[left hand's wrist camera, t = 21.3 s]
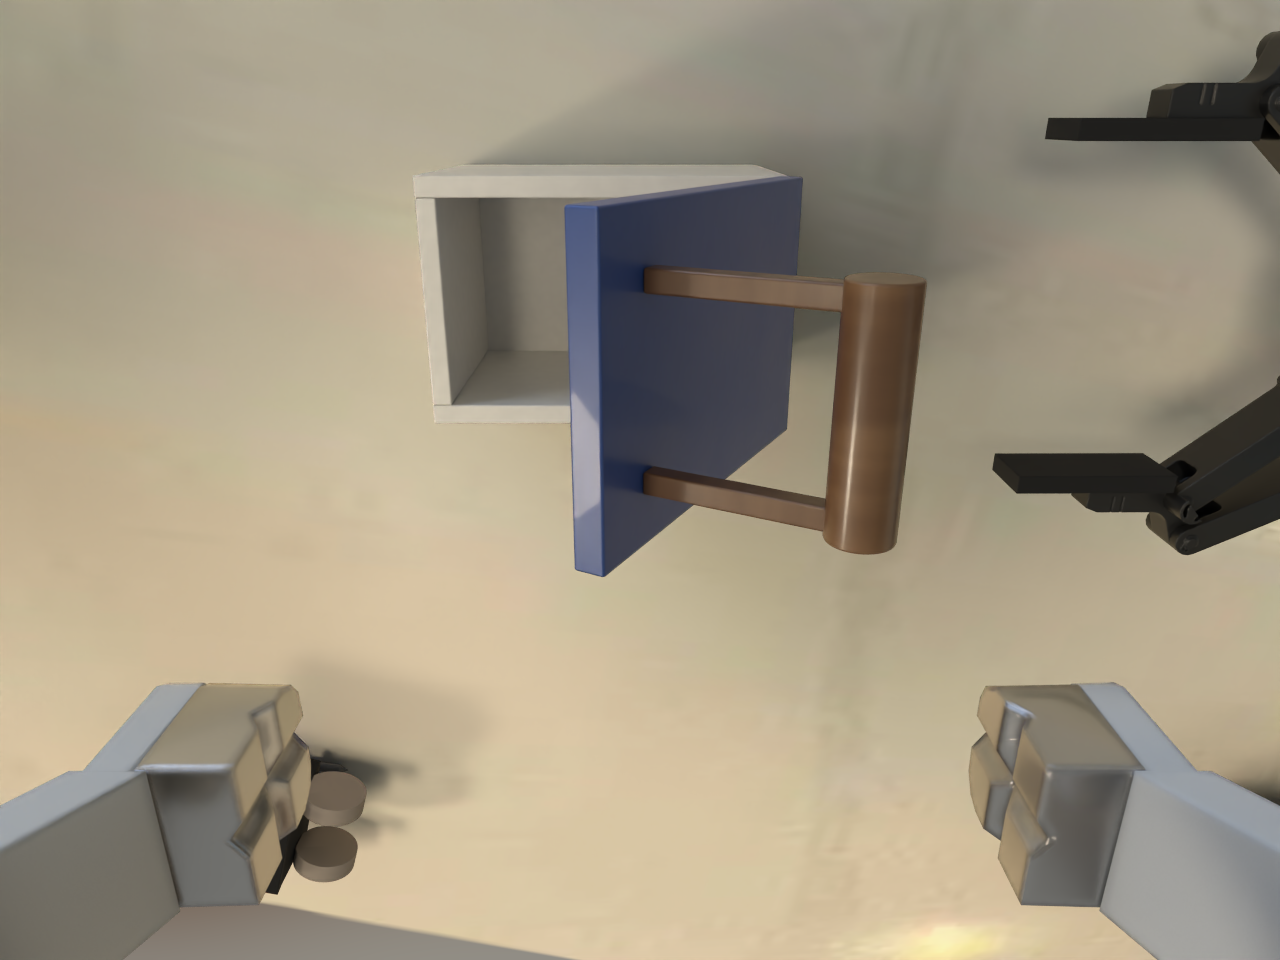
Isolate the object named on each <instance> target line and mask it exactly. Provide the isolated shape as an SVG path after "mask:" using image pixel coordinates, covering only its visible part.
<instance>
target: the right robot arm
mask: <svg viewBox="0 0 1280 960" xmlns="http://www.w3.org/2000/svg"><path fill="white" fill-rule="evenodd" d="M1256 57H1257V60H1258V61H1257V62H1256V64H1255V66H1254V68H1253V69H1252V71H1251V72H1250V74H1249V75H1248V76H1247V77H1246V78H1244V79H1243V80H1241V81H1240V82H1237V83H1178V84H1166V85H1163V86H1161V87H1158V88H1156V89H1153V90H1152V91H1151V97H1150V102H1149V107H1148V112H1147V117H1146V118H1048V124H1047V130H1046V137H1045V139H1053V140H1071V141H1252V142H1253V143H1254V145H1255V146H1256V147H1257V148H1258V149H1259V150H1260V152H1261V153H1262V154H1263V155H1264V156H1265V157H1266V159H1267V160H1268V161H1269V162H1270V163H1271V164H1272V166H1273V167H1274V168H1275V169H1276V170H1277V171H1278V173H1279V174H1280V31H1278V32H1271V33H1270V34H1268V35H1266V36H1265V37H1264V38H1263V39H1262V40H1261V41H1260V43H1259V45H1258V47H1257V51H1256ZM992 470H993V471H994V472H995V473H996V474H997V475H998V476H999V477H1000V478H1001V479H1002V480H1003V481H1005V482H1006V483H1007V484H1008V485H1009V486H1010V487H1011V488H1012V489H1013V490H1014V491H1015V492H1016V493H1072V494H1071V495H1072V496H1073V497H1074V498H1075V499H1076V500H1078V501H1079V502H1080V503H1081V504H1082V505H1083V506H1085V507H1086V508H1088V509H1090V510H1093V511H1095V512H1149V514H1148V515H1147V518H1146V525H1147V527H1148V528H1149V529H1150V530H1151V531H1153V532H1154V533H1155V534H1156V535H1158V536H1159V537H1160V538H1161V539H1163V540H1164V541H1165V542H1166V543H1168V544H1169V545H1170V546H1171V547H1173V548H1174V549H1175V550H1177V551H1178V552H1179V553H1181V554H1183V555H1190V554H1194V553H1196V552H1199V551H1201V550H1204V549H1206V548H1209V547H1211V546H1214V545H1216V544H1219V543H1221V542H1224V541H1226V540H1229V539H1231V538H1234V537H1236V536H1239V535H1241V534H1243V533H1246V532H1248V531H1251V530H1253V529H1256V528H1258V527H1261V526H1263V525H1266V524H1268V523H1271V522H1273V521H1276V520H1278V519H1280V376H1279V377H1278V379H1277V385H1276V386H1275V387H1274V388H1272V389H1271V390H1269V391H1268V392H1266V393H1265V394H1263V395H1262V396H1260V397H1259V398H1258V399H1256V400H1255V401H1253V402H1252V403H1250V404H1249V405H1247V406H1246V407H1244V408H1243V409H1241V410H1240V411H1238V412H1237V413H1235V414H1234V415H1232V416H1231V417H1229V418H1228V419H1226V420H1225V421H1223V422H1222V423H1220V424H1219V425H1217V426H1216V427H1214V428H1213V429H1211V430H1210V431H1208V432H1207V433H1205V434H1204V435H1202V436H1201V437H1199V438H1198V439H1196V440H1195V441H1193V442H1192V443H1190V444H1189V445H1187V446H1186V447H1184V448H1183V449H1182V450H1180V451H1179V452H1177V453H1176V454H1174V455H1173V456H1171V457H1170V458H1168V459H1167V460H1165V461H1164V462H1162V463H1161V464H1158V463H1157V462H1155V461H1154V460H1152V459H1151V458H1149V457H1148V456H1146V455H1145V454H1143V453H1052V454H995V456H994V462H993V469H992Z"/></svg>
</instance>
